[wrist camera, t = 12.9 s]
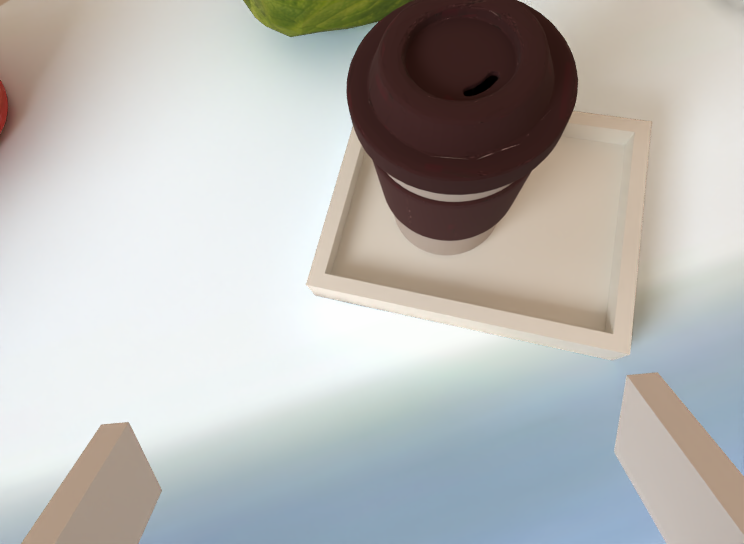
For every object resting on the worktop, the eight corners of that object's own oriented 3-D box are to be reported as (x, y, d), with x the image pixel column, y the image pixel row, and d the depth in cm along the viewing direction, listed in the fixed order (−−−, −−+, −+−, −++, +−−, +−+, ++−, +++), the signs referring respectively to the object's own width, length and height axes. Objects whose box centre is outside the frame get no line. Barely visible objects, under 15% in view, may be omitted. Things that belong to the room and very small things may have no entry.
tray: (315, 295, 33) (306, 284, 31) (369, 106, 38) (365, 82, 35) (611, 360, 30) (629, 354, 27) (634, 144, 34) (651, 121, 32)
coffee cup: (376, 150, 35) (344, -35, 21) (513, 144, 34) (577, -55, 20) (374, 277, 32) (334, 163, 18) (523, 275, 31) (607, 152, 17)
